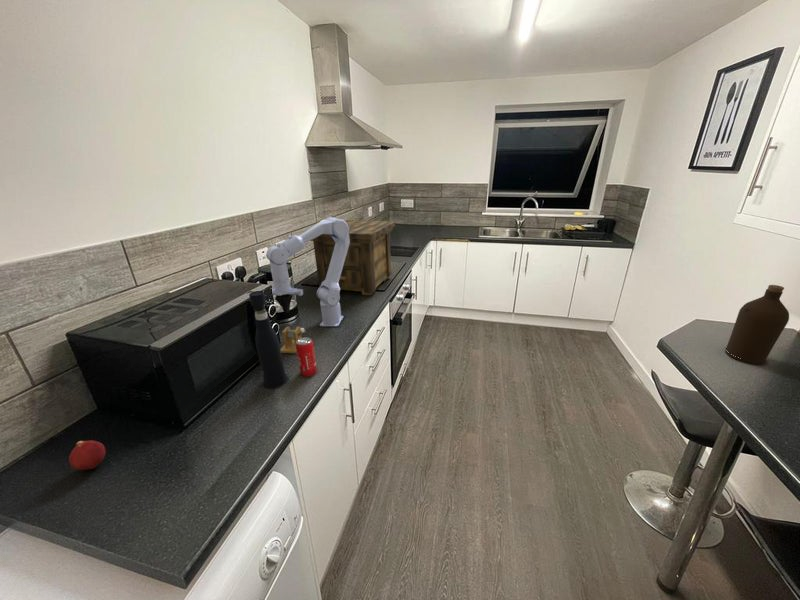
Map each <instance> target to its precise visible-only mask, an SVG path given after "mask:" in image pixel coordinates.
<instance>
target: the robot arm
mask: <svg viewBox="0 0 800 600" xmlns="http://www.w3.org/2000/svg"><path fill="white" fill-rule="evenodd" d="M344 220H345V219H341V218H337V217H336V218H335V217H334V216H327V217H326V218H324V219H321V220H319V222H317V223H316V224H315V225H313V226H312V227H310V228H309V229H307V230H305V231H304V232H302V233H301V234H300V235H295V234H293V235H292V234H290V235H288V236H287V238H286V239H285V240H283V241H281V242H277V243H276V245H272V246H269V248H267V251H266V253H265V257H266V259H267V260H268V261H269V265H270V272H271V278H272V282H273V288H271V289H272V295H271V296H274V300H275V301H276V302H277V303H278V304H279V306H280V307H281V309H282V312H283V313H284V314H288V313H290V311H291V302H292V300H293V296H298V297H301V296H303V295H304V289H302V288H295V287H292V286H291V281H290V275H289V270H288V264H287V261H288V259H289V258H290V257H292V256H293V255H295V254H296V253H298V252H300V251H301V250H303V249H304V247H305V244H306V243H308V242H311V241H310V240H312V239H314V238H316V237H318V236H320V235H321V234H330V235H331V236H332V238H333V239H334V241H335V247H334V251H333V254H332V258H331V261H330V265H329V268H328V272H327V276H326V279H325V280H324V281H323V282H322V283H321V286H320V288H319V287H318V289H317V290H316V297H317V298H318V299H319V301H320V302H319V305H320V311H321V312H320V313H321V320H322V321H321V322H320V323H319V326H320V327H339V326H340V324H341V322H342V320H343V318H344V315H342V310H341V303H340V299H341V295H340V294H341V293H340V292H341V289H340V287H339V284H338V283H339V279H340V276H341V272H342V268H343V265H344V261H345V258H346V254H347V251H348V247H349V244H350V239H349V226H348V225H347V223H346V222H345V221H344Z"/></svg>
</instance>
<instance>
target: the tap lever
mask: <svg viewBox="0 0 800 600" xmlns="http://www.w3.org/2000/svg"><path fill="white" fill-rule="evenodd" d="M294 330H295V329H290V330H288V333H287V337H292V338H294V336H293V332H294ZM300 330H301V336H305V334H306V333H307V331H306V329H305V328H304V327H300Z"/></svg>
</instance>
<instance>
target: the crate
mask: <svg viewBox="0 0 800 600" xmlns="http://www.w3.org/2000/svg"><path fill="white" fill-rule="evenodd" d="M343 220H344V221H345V222H346V223H347V225H348V226H349V239H350V244H349V247H348V251H347V254H346V258H345V261H344V265H343V268H342V272H341V276H340V279H339V283H338V284H339V287H340V291H354V292H361V295H362V296H372V295H373V293H375V292H376V291H377V287H379V285H380V284H382V283H385V282H386V281H387V278H390V276H392V252H391V251H392V249H391V232H392V231H393V228H394V227H395V226H396V221H386V220H385V221H384V220H353V219H352V220H351V219H350V220H349V219H348V220H346V219H343ZM309 242H312V243H313V250H314V251H313V252H314V258H315V265H316V272H317V280H318V281H317V282H318V289H319V288H320V286H321V283H322V282H323V281H324V280H325V279H326V276H327V272H328V268H329V265H330V261H331V258H332V254H333V251H334V247H335V241H334V239H333V238H332V236H331V235H330V234H321V235H320V236H318V237H316V238H314V239H312V240H310V241H309Z"/></svg>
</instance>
